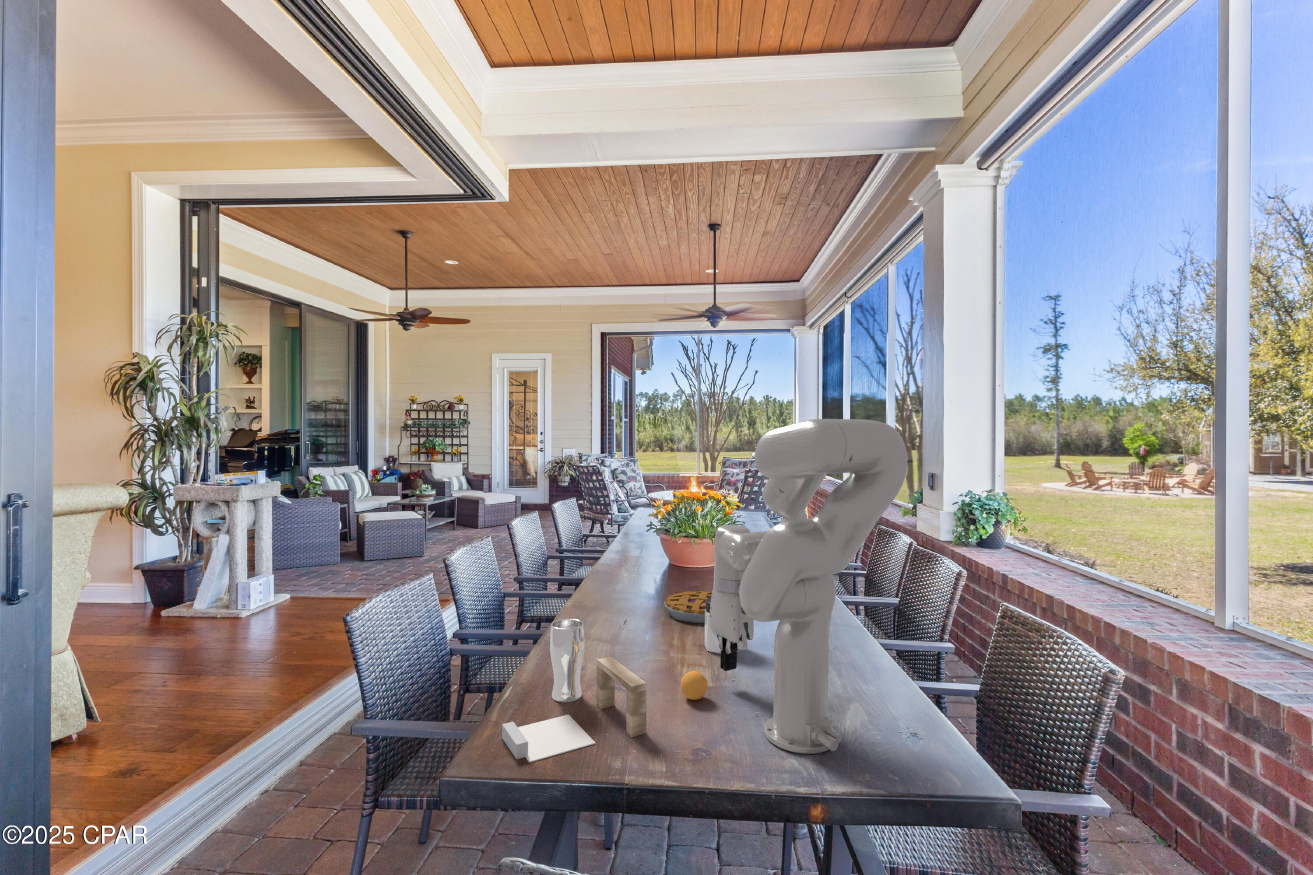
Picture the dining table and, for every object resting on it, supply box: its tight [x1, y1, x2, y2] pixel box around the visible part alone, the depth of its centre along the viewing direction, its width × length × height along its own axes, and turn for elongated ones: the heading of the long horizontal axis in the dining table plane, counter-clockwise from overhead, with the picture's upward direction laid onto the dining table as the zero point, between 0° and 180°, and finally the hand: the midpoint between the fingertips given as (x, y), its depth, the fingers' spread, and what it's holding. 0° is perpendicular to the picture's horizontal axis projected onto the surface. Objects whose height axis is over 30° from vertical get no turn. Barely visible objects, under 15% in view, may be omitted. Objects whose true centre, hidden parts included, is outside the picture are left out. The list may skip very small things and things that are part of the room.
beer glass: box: [549, 618, 585, 703], centre depth 126 cm, size 7×7×15 cm
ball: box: [680, 670, 708, 701], centre depth 125 cm, size 6×6×6 cm
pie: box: [663, 589, 713, 624], centre depth 182 cm, size 22×22×5 cm
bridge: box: [596, 656, 647, 739], centre depth 116 cm, size 3×14×9 cm, turn 31°
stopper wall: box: [501, 721, 528, 760], centre depth 106 cm, size 8×2×2 cm, turn 31°
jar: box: [704, 597, 733, 655], centre depth 154 cm, size 9×8×12 cm
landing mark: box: [517, 714, 596, 764], centre depth 109 cm, size 12×12×1 cm
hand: (728, 668), depth 131 cm, fingers closed
